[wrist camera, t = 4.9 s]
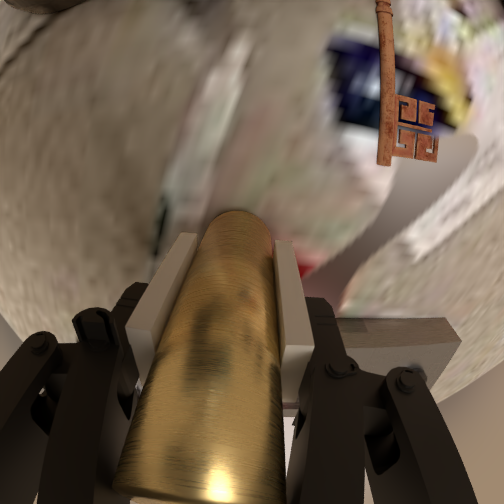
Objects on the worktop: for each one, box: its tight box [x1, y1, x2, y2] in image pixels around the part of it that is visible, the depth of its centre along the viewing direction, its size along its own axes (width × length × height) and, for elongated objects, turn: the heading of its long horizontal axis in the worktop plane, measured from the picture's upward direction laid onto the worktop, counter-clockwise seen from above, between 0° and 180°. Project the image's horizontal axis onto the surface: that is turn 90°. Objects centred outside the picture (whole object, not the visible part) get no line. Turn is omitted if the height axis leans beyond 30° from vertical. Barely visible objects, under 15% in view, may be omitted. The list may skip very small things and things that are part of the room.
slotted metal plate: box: [282, 318, 462, 417], centre depth 19 cm, size 8×24×4 cm, turn 85°
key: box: [376, 0, 439, 166], centre depth 11 cm, size 6×1×15 cm
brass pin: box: [112, 211, 287, 504], centre depth 10 cm, size 4×4×13 cm
